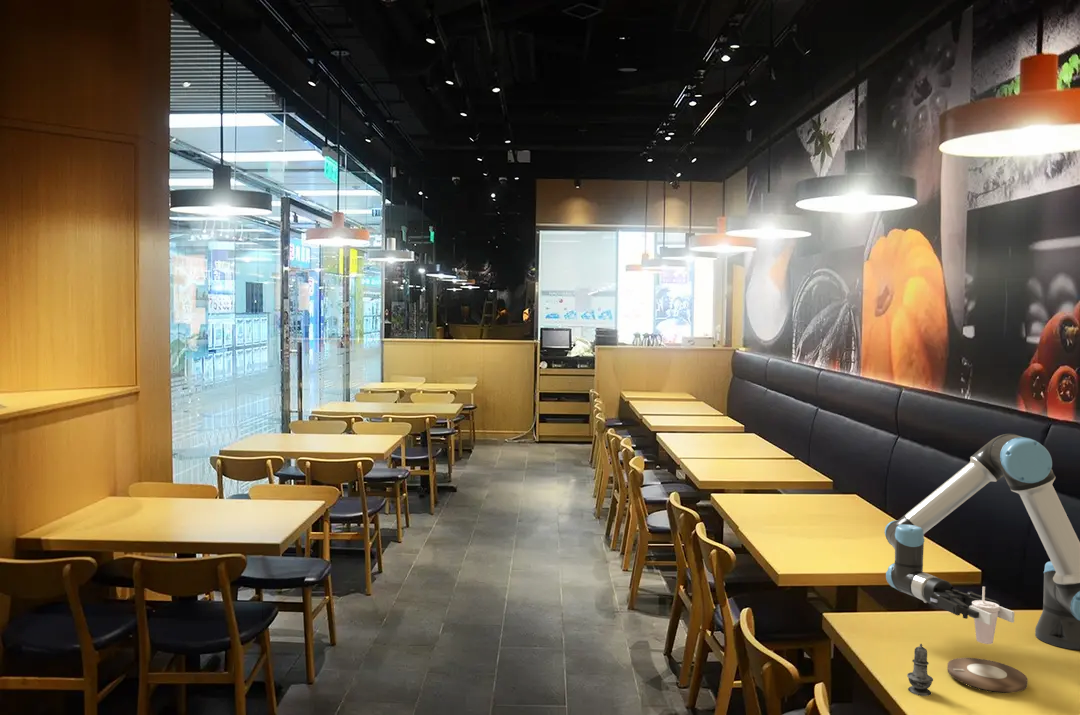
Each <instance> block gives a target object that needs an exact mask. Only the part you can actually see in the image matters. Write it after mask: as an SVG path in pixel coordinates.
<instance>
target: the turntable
mask: <svg viewBox="0 0 1080 715" xmlns="http://www.w3.org/2000/svg"><path fill="white" fill-rule="evenodd" d="M946 668H947V669H946V670H947V673H948V675H949V676H951V677H952V678H953V679H955V680H956V681H959V682H961V683H962V684H964V683H965V684H964V685H966V684H967V685H966V686H968V685H970V686H973V687H977V688H980V689H985V690H990V691H996V692H1011V693H1017V692H1022V691H1024V690H1026V689H1027V688H1028V686H1029V682H1028V681H1029V680H1028V679H1029V678H1028V677H1027V675H1026V674H1025V673H1024V672H1022V671H1021V670H1019V669H1018V668H1015V667H1013V666H1010V665H1007V664H1005V663H1001V662H1000V661H999V662H998V661H995V660H991V659H986V658H978V657H957V658H953V659H950V660H949V661H948V663H947V667H946ZM970 686H969V687H970ZM973 687H972V688H973Z"/></svg>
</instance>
